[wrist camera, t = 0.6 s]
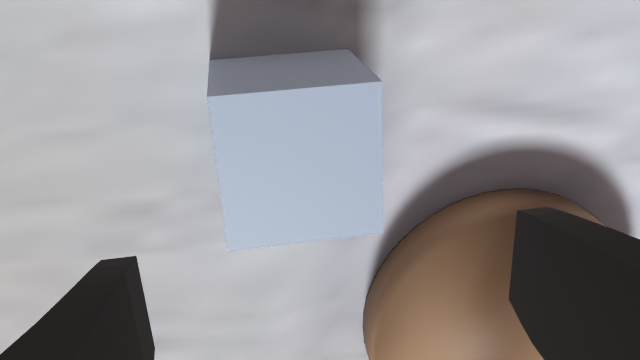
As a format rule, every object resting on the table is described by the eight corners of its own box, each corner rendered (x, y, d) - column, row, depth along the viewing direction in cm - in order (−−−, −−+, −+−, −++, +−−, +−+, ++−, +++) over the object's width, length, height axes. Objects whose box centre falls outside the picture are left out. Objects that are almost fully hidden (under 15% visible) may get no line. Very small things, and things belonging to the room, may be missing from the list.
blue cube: (348, 48, 19) (382, 81, 15) (351, 174, 21) (383, 233, 17) (209, 59, 19) (206, 96, 15) (225, 187, 21) (227, 252, 17)
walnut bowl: (636, 174, 23) (672, 195, 21) (597, 391, 28) (623, 425, 26) (360, 205, 22) (372, 231, 20) (365, 429, 26) (376, 466, 24)
